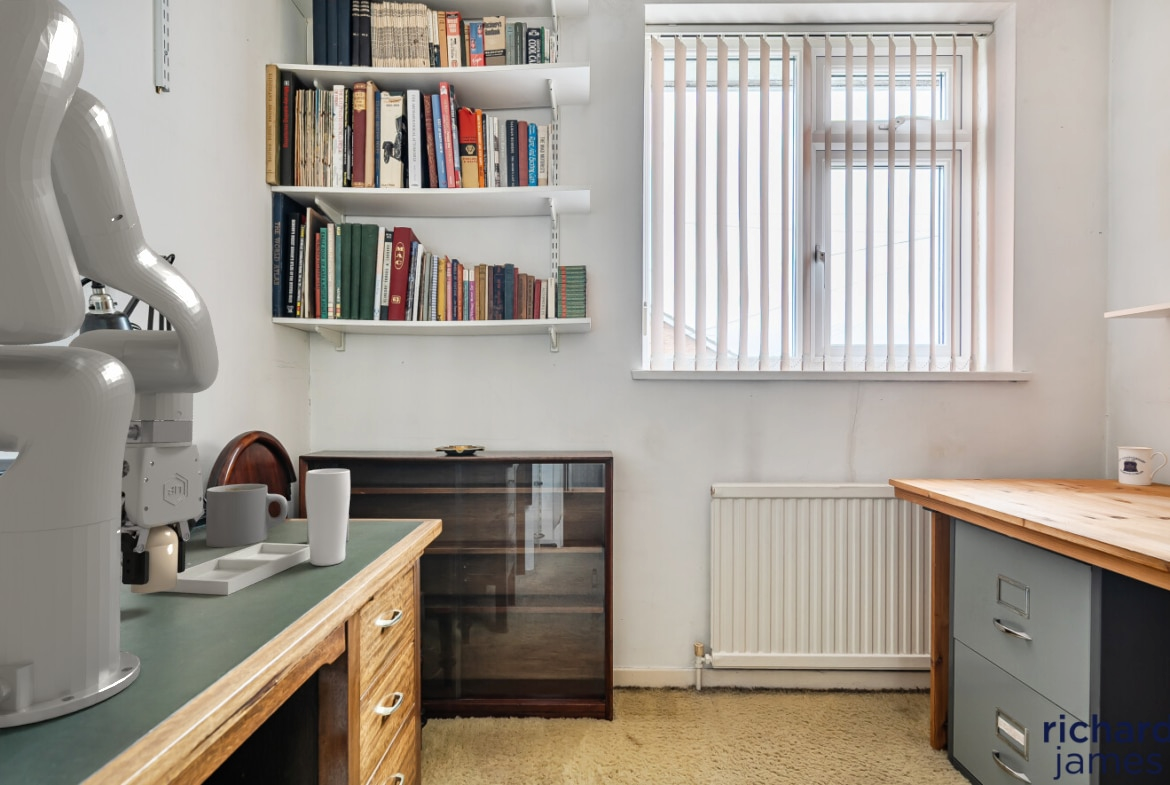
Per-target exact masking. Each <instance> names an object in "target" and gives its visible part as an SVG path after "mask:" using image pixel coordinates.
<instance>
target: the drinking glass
mask: <svg viewBox="0 0 1170 785" xmlns="http://www.w3.org/2000/svg"><path fill="white" fill-rule="evenodd" d="M304 484H305V487H304V488H305V491H304V493H305V494H304V495H305V508H306V520H307V521H308V533H309V544H308V545H310V559H309V563H310V564H312V565H313V566H317V567H323V566H324V567H327V566H329V567H330V566H335V565H337V564H340V563H342V562H344V561H345V559H346V546H347V545H346V544H347V542H346V535H347V524H348V514H349V513H350V501H351V470H350V469H347V468H321V469H320V468H319V469H312V470H308V471H306V472H305V483H304ZM349 515H350V514H349ZM307 521H306V522H307Z"/></svg>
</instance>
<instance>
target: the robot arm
mask: <svg viewBox="0 0 1170 785" xmlns="http://www.w3.org/2000/svg"><path fill="white" fill-rule="evenodd" d="M84 64H85V49H84V41H83V37H82V33H81V30H80V27H79V24H78V22H77V20H76V18H75V16H74V15H73V14H72V12H71V10H70V9H69V8H68V7H67V6H66V5H65V4H63V3H62V2H61V1H60V0H0V452H6V453H13V452H14V453H18V454H17V456H16V457H15V459H14V460H13V461H12V462H11V464H10V465H9V466H8V467H7V468H6V469H5V471H3V473H2V474H1V475H0V729H2V728H3V729H4V728H11V727H19V726H23V725H28V724H33V723H34V724H35V723H39V722H43V721H47V720H51V719H55V718H58V717H61V716H64V715H65V716H66V715H67V714H72V713H74V712H78V711H80V710H82V709H85V708H89V707H91V706H93V705H95V704H98V703H101V702H102V701H105V700H107V699H109V698H110V697H113V696H115V695H117V694H118V693H120V692H122V691H124V689H126V688H127V687H129V686H130V684H132V683H133V682H134V681H135V680H137V678H138V676H140V673H141V672H140V671H141V660H140V657H138V656H137V655H136V654H134V653H131V652H129V651H122V650H121V582H122V584H123V585H130V586H131V585H144V584H147V583H148V581H149V551H144V549H145V546H146V542H147V537H148V533H149V529H150V527H156V526H161V525H165V526H168V527H170V528H172V529H173V530H174V531H175V533H176V534H177V537H178V568H177V573H181V572H184V571H185V569H186V542H187V541H189V540H190V538H191V534H190V533H191V531H192V530H193V528H194V527H195V526H196V523H197V522H198V521H199V520H200V519H201V517H202V516H203V515H204V514H205V509H204V507H203V506H204V492H203V491H204V489H203V488H204V487H203V486H204V485H203V474H202V473H203V472H202V464H201V459H200V454H199V449H198V446H197V444H193V430H194V429H193V425H194V424H193V423H194V422H193V419H194V394H197V393H201V392H204V391H206V390H207V389H209V388H210V387H212V385H213V384H214V383H215V381H216V379H217V377H218V373H219V364H220V363H219V354H218V345H217V341H216V338H215V333H214V328H213V323H212V319H211V315H210V312H209V309H208V306H207V305H206V303H205V301H204V299H203V298H202V296H201V294H200V293H199V292H198V291H197V289H196V288H195V286H193V284H192V283H191V282H190V281H189V280H188V279H187V278H186V277H185V276H184V275H183V274H182V273H181V271H180V270H178V269H177V268H176V267H175V266H174V265H173V264H172V263H170V262H169V261H168V260H166V259H165V258H164V257H163V256H161V255H159V254H158V253H157V252H156V251H155V250H153V249H152V247H150V246H149V245H148V243H147V241H146V239H145V237H144V233H143V229H142V226H141V221H140V217H139V214H138V211H137V207H136V203H135V199H134V195H133V192H132V187H131V184H130V181H129V176H128V173H127V168H126V165H125V162H124V158H123V154H122V150H121V146H120V143H119V138H118V135H117V131H116V127H115V124H114V122H113V120H112V117H111V114H110V113H109V111H108V109H107V108H106V106H105V105H104V103H102V101H101V100H100V99H98V98H97V97H96V96H95V95H94V94H92V93H90V92H89V91H87V90H84V89H82V88H80V87H78V86H79V84H80V82H81V79H82V77H83V73H84V72H83V71H84ZM80 276H81V277H84V278H86V279H89V280H91V281H94V282H96V283H99V284H101V285H104V286H106V287H109V288H111V289H113V290H116V291H119V292H121V293H124V294H126V295H129V296H131V297H133V298H135V299H136V300H139V301H141V302H143V303H145V305H148V306H150V307H151V308H153V309H154V310H155V311H157V312H158V313H159V314H160V315H161V316H163V317H164V318H165V319H166V320H167V321H168V323H170V324H171V326H172V328H173V329H174V330H157V329H155V330H154V329H110V328H109V329H103V328H102V329H95V330H89V331H85V332H82V333H81V334H78V335H77V336H75V337H74V338H73V339H72V340H71V341H70V343H69V344H68V345H67V346H66V345H65V346H63V345H43V344H49V343H54V342H55V343H56V342H60V341H62V340H65V339H67V338H70V337H71V336H73V335H74V334H76V332H78V331H79V329H81V327H82V326H83V324H84V321H85V318H86V298H85V292H84V288H83V284H82V279H81V277H80ZM173 524H176V525H175V527H174V525H173ZM121 527H122V529H121ZM134 532H136V534H135V536H136V537H135V536H133V534H134ZM134 537H135V539H134ZM121 556H122V557H121ZM121 560H122V562H121Z"/></svg>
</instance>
